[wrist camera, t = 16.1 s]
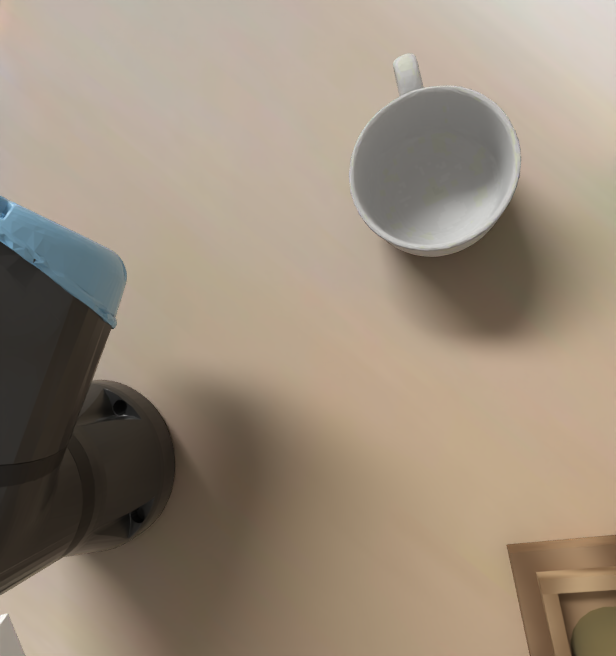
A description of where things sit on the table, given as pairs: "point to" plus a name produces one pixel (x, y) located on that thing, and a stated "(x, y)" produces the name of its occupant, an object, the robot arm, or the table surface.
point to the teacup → (434, 166)
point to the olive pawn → (595, 633)
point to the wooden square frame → (561, 587)
